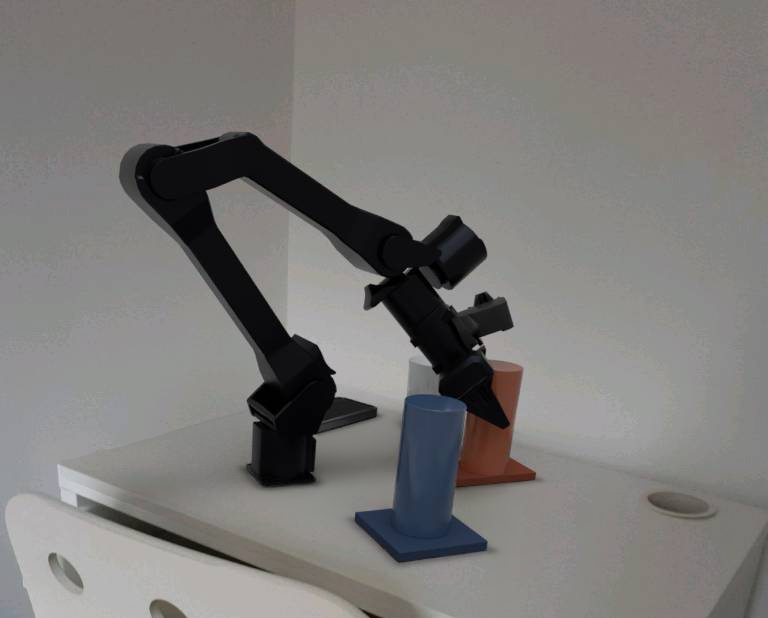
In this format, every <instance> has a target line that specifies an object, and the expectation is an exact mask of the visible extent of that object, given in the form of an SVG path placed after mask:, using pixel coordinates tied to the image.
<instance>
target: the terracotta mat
mask: <svg viewBox="0 0 768 618" xmlns="http://www.w3.org/2000/svg"><path fill="white" fill-rule="evenodd" d="M459 463H460V460H459ZM536 477H537V472H536V471H535V470H533V469H532V468H529V467H528V466H526V465H525V464H522V463H521V462H519V461H517V460H516V459H514V458H513V457H511V456H510V457H509V463H508V469H507V472H506V473H505V474H503V475H499V476H484V475H478V474H474V473H470V472H468V471H466V470H464V469H462V468H461V467H460V465H458V473H457V480H456V487H455V488H461V487H462V488H463V487H471V486H480V485H491V484H492V485H493V484H504V483H511V482H524V481H525V482H526V481H534V480H536Z"/></svg>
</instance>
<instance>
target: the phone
mask: <svg viewBox="0 0 768 618" xmlns="http://www.w3.org/2000/svg"><path fill="white" fill-rule="evenodd" d="M378 409H379V408H378V407H377V406H376V405H372V404H370V403H369V404H368V403H365V402H362V401H359V400H356V399H351V398H348V397H345V396H335V399H334V401H333V403H332V405H331V407H330V408H329V409H328V411H327V412H326V413H325V416H324V418H323V421H322V423H321V426H320V428H319V431H318V433H321V432H325V431H329V430H332V429H335V428H338V427H342V426H345V425H349V424H352V423H356V422H360V421H363V420H367V419H370V418H374V417H377V416H378Z"/></svg>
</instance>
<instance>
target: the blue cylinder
mask: <svg viewBox="0 0 768 618" xmlns="http://www.w3.org/2000/svg"><path fill="white" fill-rule="evenodd" d="M403 399H404V400H403V409H402V417H401V427H400V434H399V445H398V453H397V462H396V471H395V481H394V488H393V489H394V491H393V499H392V517H391V525H392V527H393V528H394V529H395V530H396V531H398V532H400V533H402V534H404V535H407V536H411V537H416V538H438V537H442V536H444V535H446V534H447V533H448V532H449V530H450V523H451V516H452V515H453V508H454V500H455V494H456V488H457V487H456V480H457V473H458V465H459V461H460V456H461V449H462V441H463V434H464V427H465V420H466V413H467V411H466V408H467V406H466V404H465V403H463V402H462V401H460V400H457V399H454V398H450V397H446V396H440V395H432V394H417V395H410V396H407V395H406V397H405V398H403Z"/></svg>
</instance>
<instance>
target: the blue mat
mask: <svg viewBox="0 0 768 618" xmlns="http://www.w3.org/2000/svg"><path fill="white" fill-rule="evenodd" d="M392 508H393V507H392ZM392 508H383V509H373V510H364V511H363V510H361V511H355V512H354V522H355V523H356V524H357V525H358V526H359V527H361V528H362V529H363V530H364V531H365V532H366V533H367V534H368V535H369V536H370V537H371V538H372V539H373V540H375V541H376V542H377V543H378V545H380V546H381V547H382V548H383V549H384V550H385V551H386V552H387V553H389V555H390V556H392V558H394V559H395V560H396V561H397V562H398V563H403V562H409V561H416V560H417V561H418V560H425V559H430V558H431V559H432V558H439V557H444V556H445V557H446V556H453V555H459V554H467V553H474V552H482V551H486V550H487V548H488V543H489V541H488V540H487V539H486V538H484V537H483V536H482V535H480V534H479V533H477V532H476V531H475V530H473V529H472V528H471V527H469V526H468V525H467V524H466V523H464V522H463V521H462V520H460V519H458V517H456V516H455V515H454V514H452V516H451V523H450V530H449V532H448V533H447V534H446V535H444V536H442V537H438V538H416V537H411V536H407V535H404V534H402V533H400V532H398V531H396V530H395V529H394V528H393V527H392V525H391V517H392Z"/></svg>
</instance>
